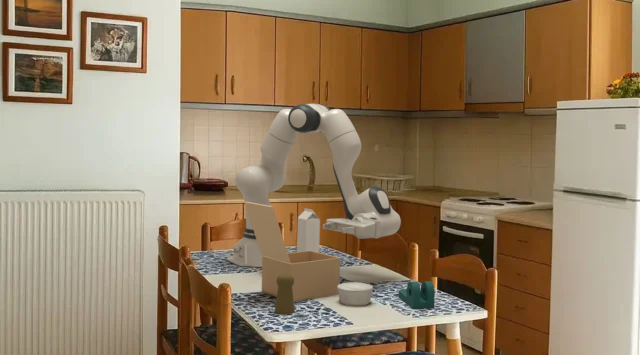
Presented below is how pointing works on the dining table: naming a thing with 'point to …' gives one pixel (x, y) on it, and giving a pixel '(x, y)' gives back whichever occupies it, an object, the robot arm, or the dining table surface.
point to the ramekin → (355, 293)
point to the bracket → (418, 295)
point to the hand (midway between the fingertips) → (332, 228)
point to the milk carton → (308, 231)
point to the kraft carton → (303, 274)
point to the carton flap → (267, 231)
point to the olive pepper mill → (285, 295)
